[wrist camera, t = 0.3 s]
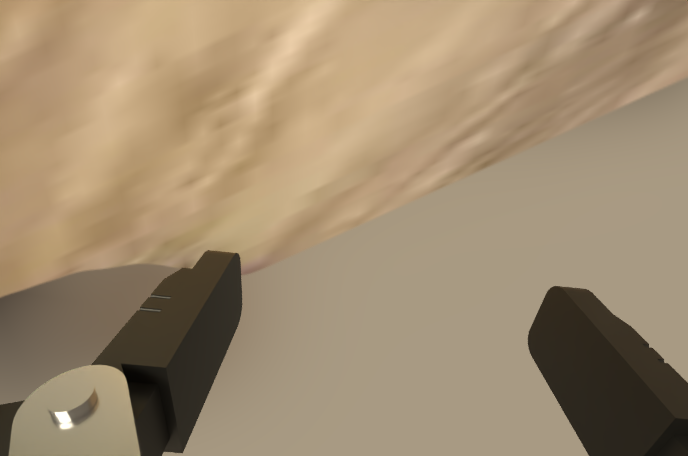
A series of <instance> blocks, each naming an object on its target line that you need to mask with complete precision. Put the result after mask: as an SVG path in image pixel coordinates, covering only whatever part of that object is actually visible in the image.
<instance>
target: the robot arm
mask: <svg viewBox="0 0 688 456" xmlns="http://www.w3.org/2000/svg"><path fill="white" fill-rule="evenodd" d="M241 287H242V286H241V264H240V257H239V254H238V253H230V252H220V251H210V250H208V251H206V252H205V253H204V254H203V256H202V257H201V258H200V259H199V261H198V262H197V263H196V265H195V266H194V267H193V269H189V268H182V269H180V270H179V271H177V272H175V273H174V274H172V275H170V276H169V277H167V278H165V279H164V280H163V281H162V282H161V283H160V284H159V286H158V287H157V288H156V289H155V290H154V292H153V293H152V294H151V297H150V298H148V299H147V300H146V301H145V302H144V303H143V304H142V306H141V307H140V310H139V311H137V312H136V313H135V314H134V315H133V316H132V317H131V319H130V320H129V321H128V323H126V324H125V326H124V327H123V328H122V329H121V330H120V332H119V333H118V334H117V335H116V336H115V338H114V339H113V340H112V341H111V342H110V344H109V345H108V346H107V347H106V348H105V349H104V350H103V352H102V353H101V354H100V355H99V356H98V358H97V359H96V360H95V361H94V362H93V363H92V365H90V366H84V367H80V368H76V369H73V370H70V371H67V372H65V373H63V374H61V375H59V376H56V377H55V378H53V379H51V380H49V381H48V382H46V383H45V384H43V385H42V386H41V387H39V388H38V389H36V390H35V391H34V392H33V393H32V394H31V395H30V396H29V397H28V398H27V399H26V400H24V401H20V402H14V403H8V404H3V405H0V456H162V454H163V452H175V453H183V451H184V449H185V447H186V444H187V442H188V440H189V437H190V435H191V433H192V430H193V428H194V426H195V424H196V421H197V419H198V417H199V414H200V412H201V410H202V407H203V405H204V403H205V400H206V398H207V396H208V393H209V391H210V389H211V386H212V384H213V382H214V379H215V377H216V375H217V373H218V370H219V368H220V366H221V363H222V361H223V359H224V357H225V354H226V352H227V350H228V347H229V345H230V343H231V340H232V338H233V336H234V333H235V331H236V329H237V327H238V324H239V320H240V316H241V310H242V288H241ZM528 346H529V350H530V353H531V356H532V358H533V359H534V361H535V363H536V364H537V366H538V368H539V370H540V371H541V373H542V375H543V377H544V378H545V380H546V382H547V383H548V385H549V387H550V389H551V390H552V392H553V394H554V396H555V397H556V399H557V401H558V403H559V404H560V406H561V408H562V410H563V411H564V413H565V415H566V416H567V418H568V420H569V422H570V423H571V425H572V427H573V429H574V430H575V432H576V434H577V436H578V437H579V439H580V441H581V442H582V444H583V446H584V448H585V449H586V451H587V453H588V455H589V456H688V383H687V382H686V381H685V380H684V379H683V378H682V377H681V376H680V375H679V374H678V373H677V372H676V371H675V370H674V369H673V368H672V367H671V366H670V365H669V364H668V363H664V359H663V358H662V357H661V356H660V355H659V354H658V353H657V352H656V351H655V350H654V349H653V348H649V344H648V343H647V342H646V341H645V340H644V339H643V338H642V337H641V336H640V335H639V334H638V333H637V332H636V331H635V330H634V329H633V328H632V327H631V326H629V325H628V324H627V323H625V322H623V321H622V320H621V319H619V318H618V317H616V316H615V315H613V314H612V313H611V312H610V311H609V310H608V309H607V308H606V307H605V306H604V305H603V304H602V303H601V301H600V300H598V298H596V296H595V295H594V294H593V293H592V292H590V291H589V290H587V289H580V288H570V287H560V286H554V287H552V288H550V290H548V292H547V294H546V296H545V298H544V300H543V302H542V304H541V306H540V309H539V311H538V313H537V315H536V317H535V320H534V322H533V324H532V326H531V329H530V331H529V335H528Z"/></svg>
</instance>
